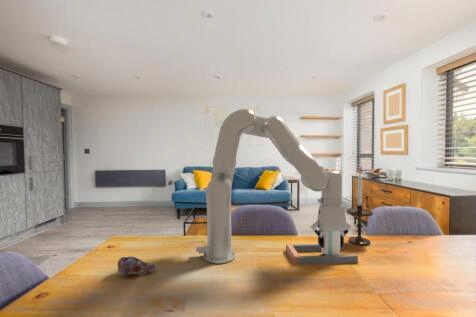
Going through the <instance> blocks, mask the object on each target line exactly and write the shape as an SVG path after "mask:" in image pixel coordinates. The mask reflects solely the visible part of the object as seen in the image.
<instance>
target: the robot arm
mask: <svg viewBox="0 0 476 317" xmlns="http://www.w3.org/2000/svg"><path fill="white" fill-rule="evenodd" d="M243 134H245V135H251V136H254V137H255V136H256V137H259V138H264V139H265V138H266V139H269V140H270V141H271V143H272V144H273V145H274V147H275V148H276V150H278V152H279V154H280V155H281V157H282V158H283V159H284V160H285V161H286V162H288V163H289V164H290V165H291V166H293V167H294V168H295V169H296V171H297V172H298V173H299V174H300V182H301V185H303V186H304V187H305V188H307V189H309V190H311V191H314V192H317V193H318V192H321V196H320V198H318V199H317V202H318V203H320V204H319V207H318V212H317V218H316V219H317V220H316V221H315V222H314V223H313V224H312V225H311V226H310V229H312V231H313V232H314V233H315V235H317V244H319V245H320V246H321V247H322V248H323V247H324V238H323V235H324V232H328V231H329V230H330V229H332V228H334V227H333V226H335V228H337V229H338V230H339V231H340V232H341V233H340V247H343V248H344V242H345V241H344V240H345V237H346V235H347V234H348V233H349V231H350V230H351V229H352V226H351V224H349V223H348V222H347V220H346V212H345V206H344V205H342V201H343V198H342V197H343V195H342V194H343V193H342V192H343V191H342V190H343V184H342V183H343V174H342V173H341V171H338V170H323V168H322V167H321V166H320V165H319V163H318V162H317V161H316V159H315V158H314V157H313V156H312V155H311V154H310V153H309V151H307V149H305V147H304V146H303V145H302V144H301V143H300V141H299V140H298V138H297V137H296V136H295V135H294V133H293V132H292V130H291V129H290V127H289V126H288V125H287V123H286V122H285V121H284V119H283V118H281V117H280V116H279V115H272V116H270V117H264V116H257V115H256V114H255V112H254V110H251V109H249V108H241V109H238V110H235V111H233V112H231V113H229V115H228V116H226V118H224V120H223V122H222V124H221V127H220V129H219V132H218V137H217V142H216V144H215V150H214V155H213V158H212V171H211V176H210V179H209V180H210V181H209V182H208V184H207V186H206V191H205V199H206V200H205V201H206V220H207V221H206V223H207V224H206V226H207V227H206V228H207V230H206V234H207V236H206V237H207V238H206V239H207V241H206V242H207V243H206V245H204V246H201V245H200V246H195V250H196V252H198V254H203V259H204V260H205V261H206V262H208V263H211V264H227V263H230V262H232V261H233V260H234V259H235V258H236V252H235V251H234V250H232V187H233V186H232V184H233V180H234V174H235V171H236V170H235V169H236V166H237V165H236V164H237V154H238V149H239V145H240V140H241V137H242V135H243ZM317 228H318V229H317Z"/></svg>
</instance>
